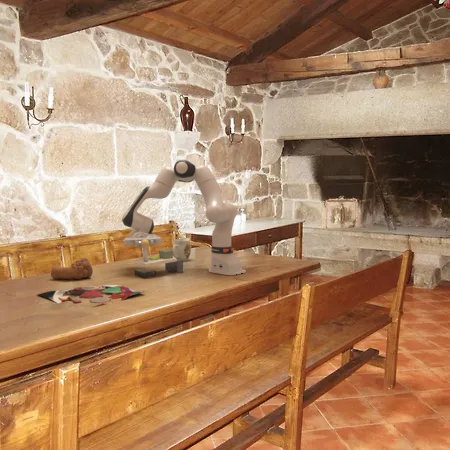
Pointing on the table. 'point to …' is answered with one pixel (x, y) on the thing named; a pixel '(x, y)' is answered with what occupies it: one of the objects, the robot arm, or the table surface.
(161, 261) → the plate
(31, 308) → the table surface
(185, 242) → the pitcher
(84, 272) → the clay pipe
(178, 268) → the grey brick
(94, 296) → the colourful flat sheet
